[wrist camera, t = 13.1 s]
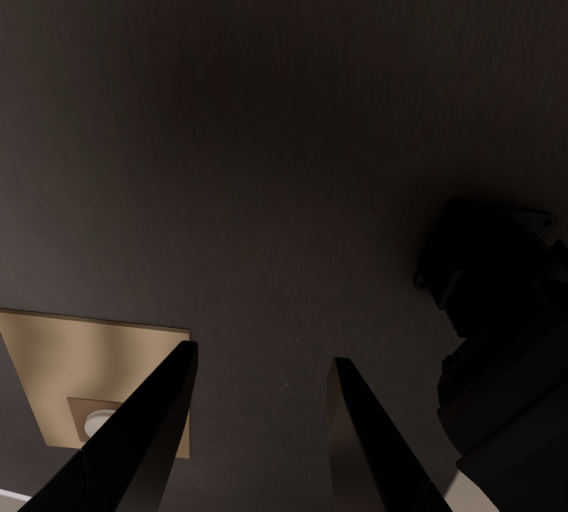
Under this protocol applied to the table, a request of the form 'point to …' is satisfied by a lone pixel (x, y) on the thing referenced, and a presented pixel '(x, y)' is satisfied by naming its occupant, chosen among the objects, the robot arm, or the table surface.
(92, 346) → the board
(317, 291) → the table surface
